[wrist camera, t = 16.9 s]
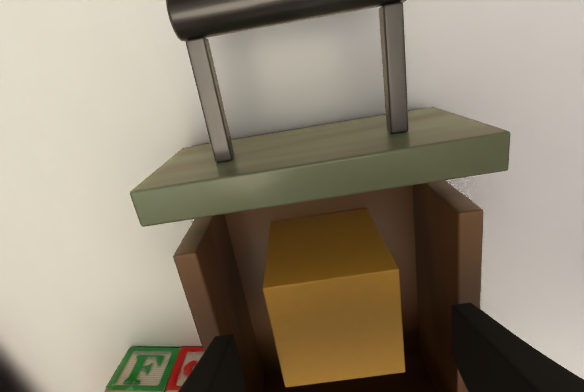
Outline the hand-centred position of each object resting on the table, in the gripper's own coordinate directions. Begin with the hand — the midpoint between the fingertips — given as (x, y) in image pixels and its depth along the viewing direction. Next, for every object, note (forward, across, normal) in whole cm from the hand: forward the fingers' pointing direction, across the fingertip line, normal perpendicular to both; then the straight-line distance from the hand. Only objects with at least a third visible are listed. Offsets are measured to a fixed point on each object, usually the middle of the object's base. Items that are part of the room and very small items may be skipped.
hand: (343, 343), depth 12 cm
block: (+5, 0, 0) cm, 5 cm away
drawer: (+6, 0, -2) cm, 7 cm away
